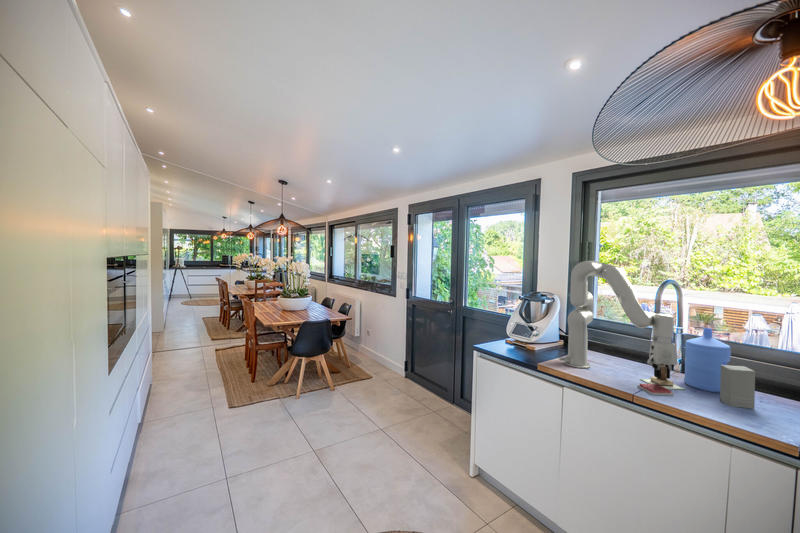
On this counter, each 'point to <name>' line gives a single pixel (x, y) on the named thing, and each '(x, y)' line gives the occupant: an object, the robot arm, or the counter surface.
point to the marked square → (664, 386)
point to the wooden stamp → (662, 378)
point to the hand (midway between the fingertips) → (661, 377)
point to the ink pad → (655, 389)
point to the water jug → (705, 361)
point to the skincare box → (737, 386)
